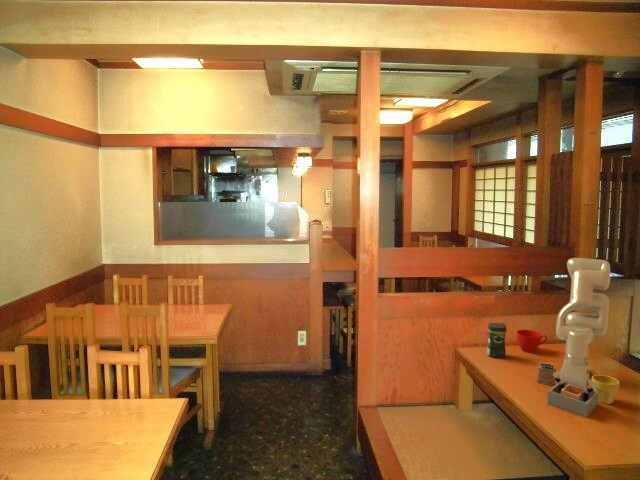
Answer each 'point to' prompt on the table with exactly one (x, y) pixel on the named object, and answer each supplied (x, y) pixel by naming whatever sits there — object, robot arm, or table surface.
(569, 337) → the robot arm
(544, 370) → the lighter
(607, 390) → the plant pot
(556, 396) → the grey crate
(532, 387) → the table surface
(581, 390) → the terracotta crate
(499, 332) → the coffee jar
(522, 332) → the ceramic cup
